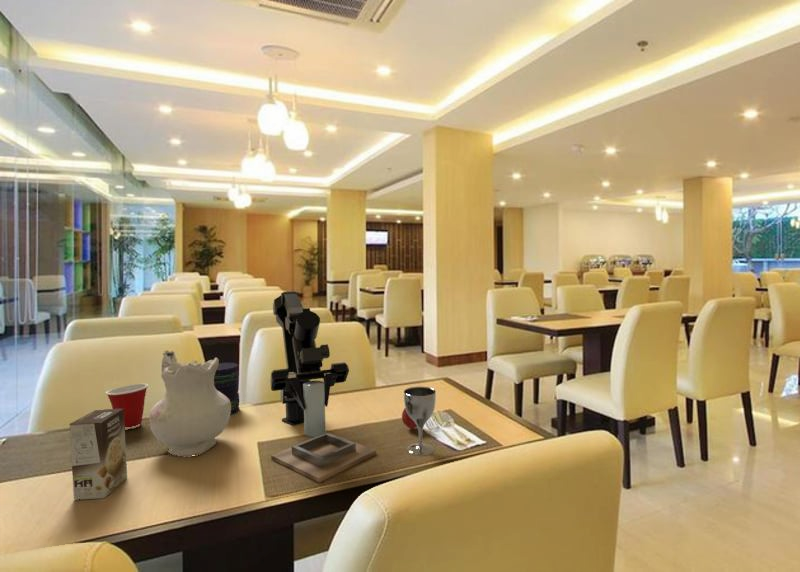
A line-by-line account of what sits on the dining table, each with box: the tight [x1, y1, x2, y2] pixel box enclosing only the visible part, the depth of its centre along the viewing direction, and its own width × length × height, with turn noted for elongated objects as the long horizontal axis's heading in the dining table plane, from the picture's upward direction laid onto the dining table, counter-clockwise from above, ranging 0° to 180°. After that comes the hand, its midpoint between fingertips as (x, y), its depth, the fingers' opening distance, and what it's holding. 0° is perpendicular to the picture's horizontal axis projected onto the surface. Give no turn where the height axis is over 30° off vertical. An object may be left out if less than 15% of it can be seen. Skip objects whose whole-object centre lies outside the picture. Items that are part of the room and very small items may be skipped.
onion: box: [401, 407, 417, 430], centre depth 127 cm, size 6×6×8 cm
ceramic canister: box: [303, 380, 327, 438], centre depth 108 cm, size 5×5×12 cm
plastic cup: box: [105, 383, 149, 427], centre depth 133 cm, size 11×11×12 cm
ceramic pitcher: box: [148, 350, 231, 458], centre depth 117 cm, size 22×20×25 cm
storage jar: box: [214, 362, 240, 416], centre depth 144 cm, size 10×10×15 cm
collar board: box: [271, 432, 377, 483], centre depth 111 cm, size 18×18×3 cm
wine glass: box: [403, 386, 437, 457], centre depth 113 cm, size 8×8×15 cm
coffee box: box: [69, 408, 128, 501], centre depth 97 cm, size 9×6×16 cm
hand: (315, 407), depth 107 cm, fingers closed on ceramic canister, 5 cm apart
